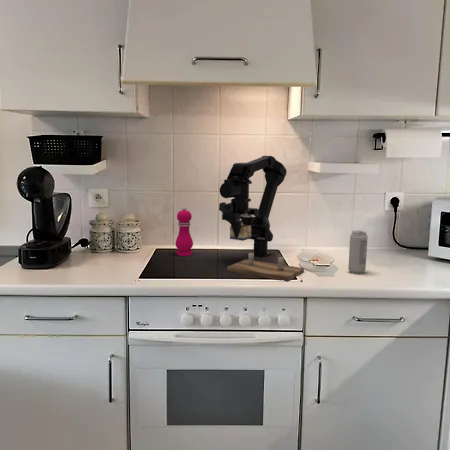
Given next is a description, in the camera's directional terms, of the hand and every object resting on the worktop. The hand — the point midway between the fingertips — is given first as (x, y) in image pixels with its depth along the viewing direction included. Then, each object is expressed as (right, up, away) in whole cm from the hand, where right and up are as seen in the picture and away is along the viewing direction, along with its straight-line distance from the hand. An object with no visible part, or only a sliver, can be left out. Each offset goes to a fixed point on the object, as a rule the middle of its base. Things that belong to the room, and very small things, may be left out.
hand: (240, 236), depth 191 cm
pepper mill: (-23, -8, +12) cm, 27 cm away
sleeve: (0, -1, 0) cm, 1 cm away
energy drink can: (+42, -13, -12) cm, 46 cm away
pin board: (+9, -13, -13) cm, 20 cm away
